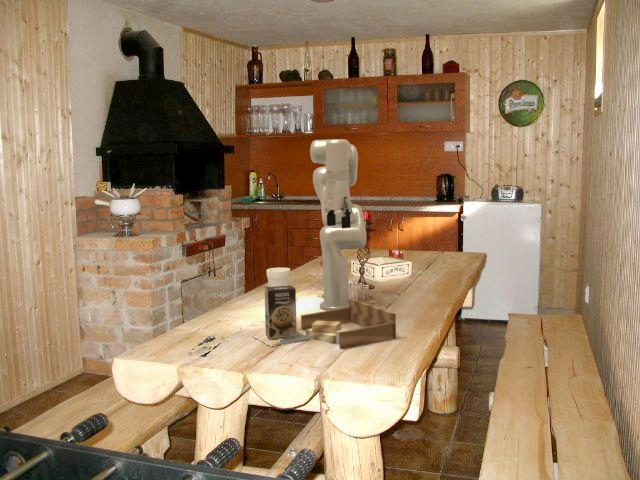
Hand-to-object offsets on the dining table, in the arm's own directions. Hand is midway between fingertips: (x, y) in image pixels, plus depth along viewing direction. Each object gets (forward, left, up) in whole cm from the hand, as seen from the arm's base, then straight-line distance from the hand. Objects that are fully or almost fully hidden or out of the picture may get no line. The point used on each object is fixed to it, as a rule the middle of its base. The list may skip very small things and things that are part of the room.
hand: (338, 226), depth 222 cm
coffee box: (+6, -26, -33) cm, 42 cm away
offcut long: (+14, -14, -34) cm, 39 cm away
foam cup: (-41, -4, -34) cm, 53 cm away
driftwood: (+1, -49, -34) cm, 60 cm away
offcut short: (+15, -14, -31) cm, 37 cm away
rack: (+14, -6, -33) cm, 37 cm away
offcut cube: (+23, -12, -33) cm, 42 cm away
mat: (+6, -26, -33) cm, 43 cm away
